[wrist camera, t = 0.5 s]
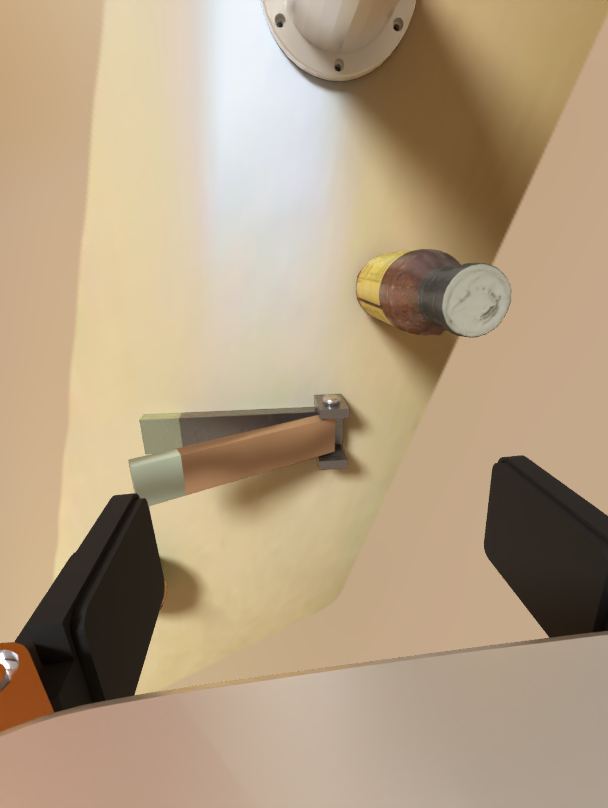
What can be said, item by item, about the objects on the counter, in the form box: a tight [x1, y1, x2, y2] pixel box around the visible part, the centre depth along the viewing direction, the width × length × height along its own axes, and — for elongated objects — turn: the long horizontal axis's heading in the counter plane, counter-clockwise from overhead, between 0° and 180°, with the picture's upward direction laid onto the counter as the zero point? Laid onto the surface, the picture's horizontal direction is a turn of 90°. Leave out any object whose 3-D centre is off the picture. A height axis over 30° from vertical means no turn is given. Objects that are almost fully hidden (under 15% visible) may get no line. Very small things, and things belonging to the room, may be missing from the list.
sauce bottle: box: [356, 249, 511, 337], centre depth 31 cm, size 7×6×20 cm
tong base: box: [140, 394, 349, 470], centre depth 43 cm, size 8×22×4 cm, turn 91°
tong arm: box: [128, 415, 335, 506], centre depth 38 cm, size 4×20×2 cm, turn 91°
